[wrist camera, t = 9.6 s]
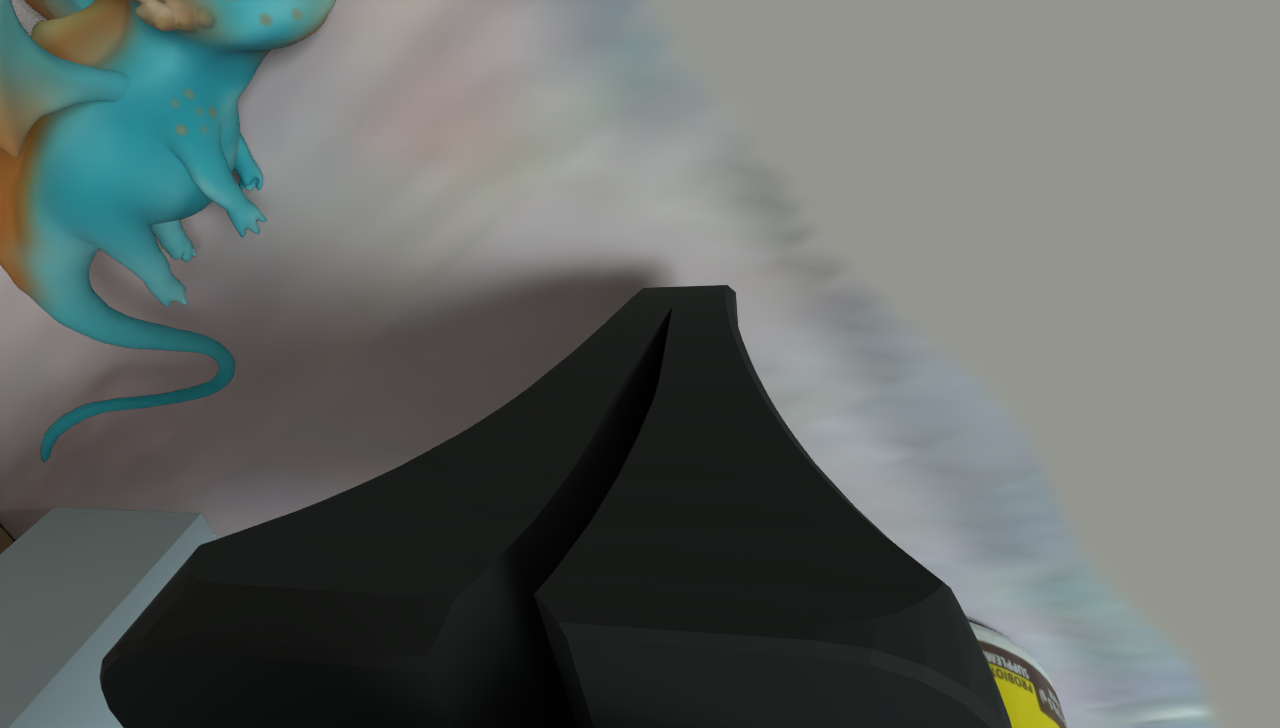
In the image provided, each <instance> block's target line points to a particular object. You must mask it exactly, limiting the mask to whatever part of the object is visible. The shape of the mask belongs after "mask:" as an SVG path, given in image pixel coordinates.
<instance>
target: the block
mask: <svg viewBox="0 0 1280 728" xmlns="http://www.w3.org/2000/svg"><path fill="white" fill-rule="evenodd" d="M217 539H218V538H217V537H216V535H215V534H214V532H213V530H212V529H211V527H210V526H209V524H208V523H207V521H206V520H205V518H204V517H203V515H202V514H201V513H180V512H156V511H131V510H107V509H83V508H59V507H53V508H52V509H51V510H50V511H49V512H48V513H47V514H45V515H44V516H43V517H42V518H41V519H40V520H39V521H38V522H36V523H35V524H34V525H33V526H32V527H31V528H30V529H29V530H27V531H26V532H25V533H24V534H23V535H22V536H21V537H19V538H18V539H17V540H16V541H15V542H14V543H13V544H12V545H10V546H9V547H8V548H7V549H6V550H5V551H4V552H3V553H1V554H0V728H123V727H122V725H121V724H120V723H119V721H118V720H117V719H116V717H115V716H114V715H113V714H112V712H111V711H110V710H109V708H108V705H107V703H106V700H105V697H104V695H103V692H102V689H101V684H100V671H101V665H102V659H103V658H104V657H105V655H106V654H107V653H108V652H109V651H110V650H111V648H112V647H113V646H114V645H115V644H116V643H117V641H118V640H119V639H120V638H121V637H122V636H123V634H124V633H125V632H126V631H127V630H128V628H129V627H130V626H131V625H132V624H133V623H134V621H135V620H136V619H137V618H138V617H139V616H140V614H141V613H142V612H143V611H144V610H145V609H146V607H147V606H148V605H149V604H150V603H151V602H152V600H153V599H154V598H155V597H156V596H157V594H158V593H159V592H160V591H161V590H162V589H163V587H164V586H165V585H166V584H167V583H168V582H169V580H170V579H171V578H172V577H173V576H174V575H175V573H176V572H177V571H178V570H179V569H180V568H181V566H182V565H183V564H184V563H185V562H186V560H187V559H188V558H189V557H190V556H191V555H192V553H193V552H194V551H195V550H196V549H197V547H198V546H200V545H201V544H204V543H207V542H210V541H213V540H217Z"/></svg>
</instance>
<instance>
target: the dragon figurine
mask: <svg viewBox="0 0 1280 728" xmlns="http://www.w3.org/2000/svg"><path fill="white" fill-rule="evenodd" d="M25 1H26V2H27V3H28V4H29V5H30V6H31V7H32V8H33V9H35V10H36V11H37V12H38V13H39V14H41V15H42V16H43V17H45V18H46V19H47V20H43V21H39V22H38V23H37V24H36V25H35V26H34V27H33V30H32V34H31V37H30V35H29V34H28V33H27V32H26V31H25V29H24V28H23V26H22V25H21V23H20V21H19V20H18V18H17V15H16V13H15V11H14V8H13V5H12V1H11V0H0V265H1V266H2V267H3V268H4V270H5V271H6V272H7V273H8V274H9V276H10V277H11V279H12V281H13V282H14V283H15V285H16V286H17V287H18V288H19V289H20V290H22V291H23V292H25V293H26V294H27V295H28V296H30V297H31V298H32V299H33V300H34V301H35V302H36V303H37V304H38V305H39V306H40V307H41V308H43V309H44V310H45V311H46V312H47V313H48V314H49V315H51V316H52V317H53V318H54V319H55V320H56V321H58V322H59V323H61V324H62V325H64V326H66V327H68V328H70V329H72V330H74V331H76V332H79V333H81V334H83V335H86V336H88V337H90V338H92V339H95V340H98V341H100V342H104V343H107V344H111V345H116V346H121V347H127V348H135V349H152V350H170V351H185V352H196V353H202V354H205V355H208V356H210V357H212V358H214V359H215V361H216V362H217V364H218V365H219V371H218V373H217V375H216V376H215V377H214V378H213V379H212V380H210V381H208V382H206V383H203V384H200V385H197V386H194V387H190V388H187V389H182V390H177V391H173V392H169V393H163V394H157V395H148V396H139V397H128V398H117V399H111V400H105V401H99V402H93V403H89V404H85V405H83V406H80V407H78V408H76V409H74V410H72V411H70V412H69V413H67V414H65V415H63V416H62V417H61V418H59V419H58V420H57V421H56V422H55V423H54V424H53V425H52V426H51V427H50V428H49V429H48V430H47V432H46V433H45V435H44V438H43V441H42V444H41V459H42V461H43V462H45V461H46V460H47V459H48V458H49V456H50V454H51V450H52V447H53V445H54V444H55V442H56V440H57V439H58V437H59V436H60V435H61V434H62V433H64V432H65V431H66V430H68V429H69V428H70V427H72V426H73V425H75V424H77V423H79V422H80V421H82V420H84V419H86V418H89V417H91V416H94V415H97V414H100V413H104V412H110V411H118V410H127V409H138V408H146V407H152V406H159V405H166V404H172V403H179V402H184V401H189V400H194V399H198V398H202V397H205V396H209V395H211V394H213V393H215V392H217V391H219V390H221V389H222V388H224V387H225V386H226V385H227V384H228V383H229V382H230V380H231V379H232V377H233V375H234V371H235V361H234V358H233V356H232V355H231V353H230V352H229V351H228V350H227V349H226V348H225V347H224V346H223V345H221V344H220V343H219V342H217V341H215V340H213V339H211V338H209V337H207V336H204V335H201V334H197V333H193V332H190V331H186V330H180V329H175V328H171V327H167V326H164V325H160V324H156V323H151V322H146V321H142V320H139V319H135V318H132V317H129V316H127V315H124V314H122V313H120V312H118V311H116V310H114V309H112V308H111V307H109V306H108V305H107V304H106V303H105V302H104V301H103V300H102V299H101V298H100V297H99V296H98V295H97V294H96V293H95V291H94V290H93V289H92V287H91V284H90V280H89V268H90V265H91V262H92V260H93V258H94V256H95V254H96V252H97V251H98V250H99V249H101V250H103V251H104V252H106V253H107V254H109V255H110V256H111V257H112V258H114V259H115V260H116V261H118V262H119V263H121V264H122V265H123V266H125V267H126V268H128V269H129V270H131V271H132V272H133V273H134V274H135V275H136V276H138V277H139V278H140V279H141V280H142V281H143V282H144V283H145V285H146V286H147V288H148V289H149V291H150V292H151V293H152V294H153V295H154V296H155V297H156V298H157V299H158V300H159V301H160V302H161V303H162V304H164V305H165V306H167V307H169V306H170V302H171V301H175V302H180V303H182V304H184V305H187V304H188V301H187V299H186V297H185V291H186V290H185V287H184V285H183V284H182V283H181V282H180V281H179V280H178V279H176V278H175V277H174V276H173V274H172V273H171V270H170V266H169V263H168V261H167V259H166V257H165V255H164V254H163V252H162V251H161V250H160V248H159V246H158V243H157V241H156V239H155V236H156V237H157V239H158V241H159V242H160V244H161V246H162V248H163V249H164V250H166V251H167V252H168V253H169V255H170V256H171V257H172V258H173V259H180V258H182V260H184V261H185V262H188V261H189V260H190V259H191V257H192V256H194V257H196V252H195V250H194V247H193V244H192V242H191V241H190V240H189V239H188V237H187V236H186V234H185V232H184V231H183V229H182V226H181V222H180V219H183V218H186V217H189V216H192V215H194V214H196V213H198V212H199V211H201V210H202V209H204V208H205V207H206V206H207V205H209V204H210V203H211V202H212V201H214V202H215V203H216V204H218V205H219V206H221V207H222V208H224V209H225V210H226V211H227V213H228V215H229V218H230V219H231V221H232V223H233V225H234V226H235V228H236V230H237V231H238V233H239V234H240V236H241V237H242V238H243V237H244V236H245V233H246V229H250V230H251V231H252V232H254V233H256V234H259V233H260V229H259V226H258V224H257V222H256V220H258V221H262V222H265V221H266V218H265V217H264V215H263V214H262V213H261V211H260V210H259V208H258V207H256V206H255V205H254V204H253V203H252V202H251V201H250V200H248V199H247V198H246V197H245V195H244V193H243V191H242V190H241V189H242V188H245V189H247V190H252V189H254V187H255V186H256V187H257V190H261V188H262V185H263V176H262V173H261V170H260V169H259V167H258V165H257V164H256V162H255V161H254V159H253V158H252V156H251V154H250V151H249V149H248V147H247V145H246V143H245V141H244V138H243V137H242V135H241V133H240V123H239V114H238V105H237V104H238V98H239V96H240V95H241V93H242V92H243V91H244V90H245V88H246V87H247V85H248V84H249V83H250V81H251V80H252V77H253V75H254V73H255V71H256V70H257V68H258V67H259V65H260V64H261V62H262V60H263V58H264V57H265V56H266V54H267V53H268V52H269V51H271V50H272V49H277V48H282V47H286V46H289V45H292V44H295V43H297V42H299V41H301V40H303V39H304V38H306V37H308V36H310V35H311V34H313V33H314V32H316V31H317V30H318V29H319V28H320V27H321V26H322V24H323V23H324V22H325V20H326V18H327V16H328V14H329V13H330V11H331V9H332V8H333V6H334V4H335V2H336V0H25ZM233 169H234V170H235V172H236V173H237V175H238V176H239V178H240V184H239V185H238V184H237V183H236V181H235V179H234V178H233V176H232V172H233ZM153 233H154V234H153ZM154 235H155V236H154Z"/></svg>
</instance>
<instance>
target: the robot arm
mask: <svg viewBox="0 0 1280 728" xmlns="http://www.w3.org/2000/svg"><path fill="white" fill-rule="evenodd" d="M100 684H101V689H102V692H103V695H104V697H105V700H106V703H107V705H108V708H109V710H110V711H111V712H112V714H113V715H114V716H115V717H116V719H117V720H118V721H119V723H120V724H121V725H122V727H123V728H1012V725H1011V722H1010V718H1009V716H1008V713H1007V710H1006V707H1005V705H1004V702H1003V699H1002V696H1001V694H1000V691H999V688H998V686H997V683H996V681H995V678H994V676H993V673H992V671H991V668H990V666H989V664H988V661H987V659H986V657H985V655H984V653H983V651H982V648H981V646H980V644H979V642H978V640H977V638H976V636H975V633H974V632H973V630H972V628H971V626H970V624H969V622H968V620H967V618H966V616H965V614H964V612H963V610H962V608H961V606H960V605H959V603H958V601H957V599H956V597H955V595H954V594H953V592H952V590H951V588H950V587H949V586H947V585H946V584H945V583H944V582H943V581H941V580H940V579H939V578H937V577H936V576H935V575H934V574H932V573H931V572H930V571H929V570H927V569H926V568H925V567H923V566H922V565H921V564H920V563H918V562H917V561H916V560H915V559H913V558H912V557H911V556H909V555H908V554H907V553H906V552H904V551H903V550H902V549H901V548H899V547H898V546H897V545H896V544H895V543H893V542H892V541H891V540H890V539H889V538H888V537H886V536H885V535H884V534H883V533H882V532H881V531H880V530H879V529H878V528H877V527H876V526H875V525H874V524H873V523H872V522H871V521H869V520H868V519H867V518H866V517H865V516H864V515H863V514H862V513H861V512H860V511H859V510H858V509H857V508H856V507H855V506H854V505H853V504H852V503H851V502H850V501H849V500H848V499H847V498H846V496H845V495H844V494H843V493H842V492H841V491H840V490H839V489H838V488H837V487H836V486H835V484H834V483H833V482H832V481H831V480H830V479H829V478H828V477H827V476H826V475H825V474H824V472H823V471H822V470H821V469H820V468H819V467H818V466H817V465H816V464H815V462H814V461H813V460H812V459H811V457H810V456H809V455H808V453H807V452H806V451H805V450H804V448H803V447H802V446H801V444H800V443H799V442H798V440H797V439H796V438H795V436H794V435H793V433H792V432H791V431H790V429H789V428H788V426H787V425H786V423H785V422H784V420H783V419H782V417H781V416H780V414H779V413H778V411H777V409H776V408H775V406H774V405H773V403H772V401H771V399H770V398H769V396H768V394H767V392H766V390H765V389H764V387H763V385H762V383H761V381H760V379H759V377H758V375H757V373H756V371H755V369H754V367H753V365H752V362H751V360H750V358H749V355H748V353H747V350H746V348H745V345H744V343H743V340H742V337H741V334H740V331H739V328H738V318H737V303H736V292H735V291H734V290H732V289H731V288H730V287H729V286H728V285H718V286H688V287H659V288H643V289H642V290H641V291H639V292H638V293H637V294H636V295H635V296H634V297H633V298H631V299H630V300H629V301H628V302H627V303H626V304H625V305H624V306H623V307H622V308H621V309H620V310H619V311H618V312H616V313H615V314H614V315H613V316H612V317H611V318H610V319H609V320H608V321H607V322H606V323H605V324H604V325H603V326H601V327H600V328H599V329H598V330H597V331H596V332H595V333H594V334H593V335H591V336H590V337H589V338H588V339H587V340H586V341H585V342H584V343H583V344H582V345H580V346H579V347H578V348H577V349H576V350H575V351H574V352H573V353H571V354H570V355H569V356H568V357H566V358H565V359H564V360H563V361H561V362H560V363H559V364H558V365H556V366H555V367H554V368H553V369H552V370H550V371H549V372H548V373H547V374H545V375H544V376H543V377H542V378H540V379H539V380H538V381H537V382H535V383H534V384H533V385H532V386H530V387H529V388H528V389H527V390H525V391H524V392H522V393H521V394H520V395H518V396H517V397H516V398H514V399H513V400H511V401H510V402H508V403H507V404H506V405H504V406H503V407H501V408H500V409H498V410H497V411H495V412H494V413H492V414H490V415H489V416H487V417H486V418H484V419H483V420H481V421H480V422H478V423H476V424H475V425H473V426H472V427H470V428H468V429H467V430H465V431H463V432H462V433H460V434H458V435H457V436H455V437H453V438H451V439H449V440H447V441H445V442H444V443H442V444H440V445H438V446H436V447H434V448H433V449H431V450H429V451H427V452H425V453H423V454H422V455H420V456H418V457H416V458H414V459H412V460H410V461H409V462H407V463H405V464H403V465H401V466H399V467H397V468H395V469H393V470H391V471H389V472H387V473H384V474H382V475H380V476H378V477H376V478H374V479H372V480H369V481H367V482H365V483H363V484H361V485H359V486H356V487H354V488H352V489H349V490H347V491H345V492H342V493H340V494H338V495H335V496H333V497H331V498H328V499H326V500H324V501H321V502H319V503H316V504H313V505H311V506H308V507H306V508H303V509H301V510H298V511H296V512H293V513H290V514H287V515H284V516H282V517H279V518H276V519H273V520H270V521H268V522H265V523H262V524H259V525H256V526H254V527H251V528H248V529H245V530H242V531H240V532H237V533H234V534H231V535H228V536H226V537H223V538H220V539H217V540H213V541H210V542H207V543H204V544H201V545H200V546H198V547H197V549H196V550H195V551H194V552H193V553H192V555H191V556H190V557H189V558H188V559H187V560H186V562H185V563H184V564H183V565H182V566H181V568H180V569H179V570H178V571H177V572H176V573H175V575H174V576H173V577H172V578H171V579H170V580H169V582H168V583H167V584H166V585H165V586H164V587H163V589H162V590H161V591H160V592H159V593H158V594H157V596H156V597H155V598H154V599H153V600H152V602H151V603H150V604H149V605H148V606H147V607H146V609H145V610H144V611H143V612H142V613H141V614H140V616H139V617H138V618H137V619H136V620H135V621H134V623H133V624H132V625H131V626H130V627H129V628H128V630H127V631H126V632H125V633H124V634H123V636H122V637H121V638H120V639H119V640H118V641H117V643H116V644H115V645H114V646H113V647H112V648H111V650H110V651H109V652H108V653H107V654H106V655H105V657H104V658H103V659H102V665H101V671H100Z"/></svg>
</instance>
